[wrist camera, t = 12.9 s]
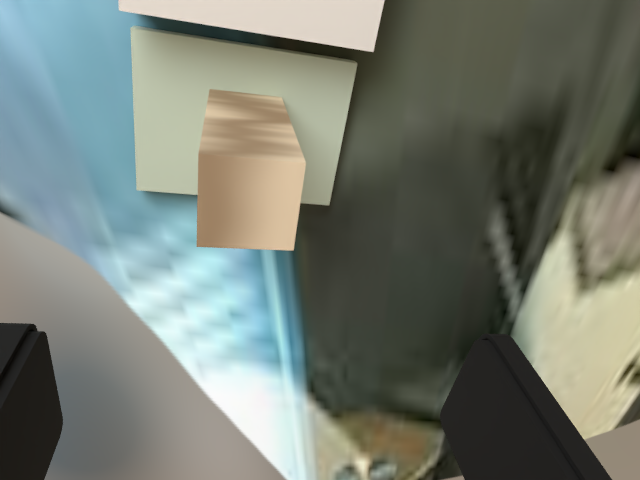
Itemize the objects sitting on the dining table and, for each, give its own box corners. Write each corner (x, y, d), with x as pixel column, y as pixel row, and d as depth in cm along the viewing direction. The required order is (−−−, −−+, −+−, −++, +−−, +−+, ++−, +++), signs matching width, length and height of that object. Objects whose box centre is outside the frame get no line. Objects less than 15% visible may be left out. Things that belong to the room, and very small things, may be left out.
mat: (353, 60, 26) (357, 63, 25) (326, 198, 31) (329, 205, 30) (134, 25, 23) (130, 27, 23) (139, 183, 28) (136, 190, 27)
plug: (281, 97, 26) (305, 162, 17) (274, 162, 28) (293, 250, 19) (209, 88, 25) (198, 153, 16) (207, 157, 27) (196, 246, 18)
